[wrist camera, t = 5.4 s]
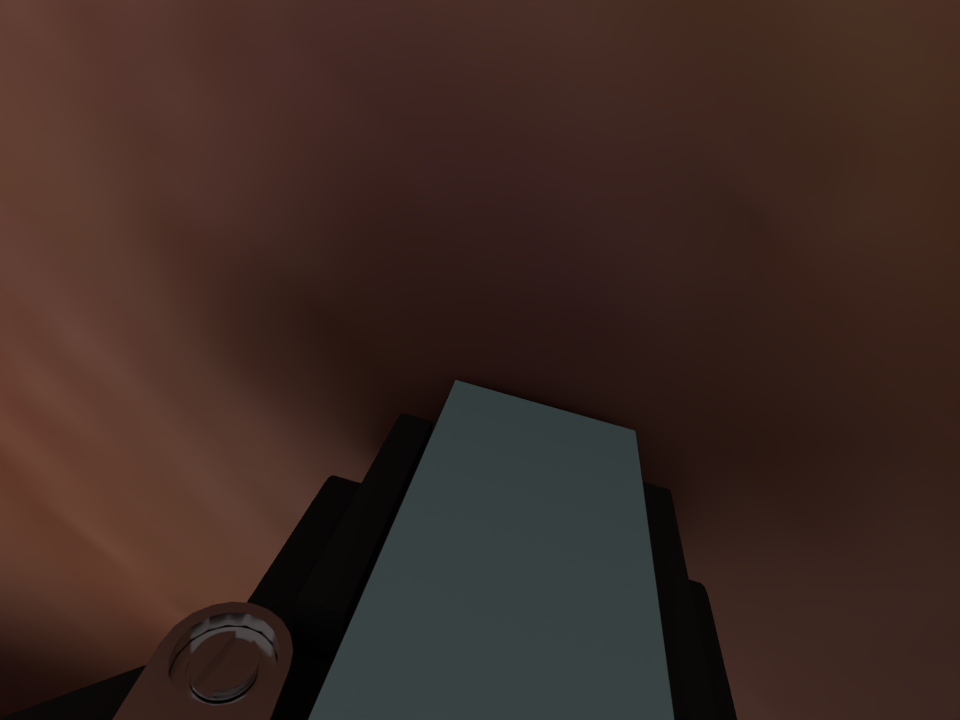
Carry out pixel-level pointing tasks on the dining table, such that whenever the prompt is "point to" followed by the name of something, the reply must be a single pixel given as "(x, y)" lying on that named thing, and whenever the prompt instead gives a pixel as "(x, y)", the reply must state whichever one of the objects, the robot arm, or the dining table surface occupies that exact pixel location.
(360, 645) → the blue-grey long flat part
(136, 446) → the dining table surface
